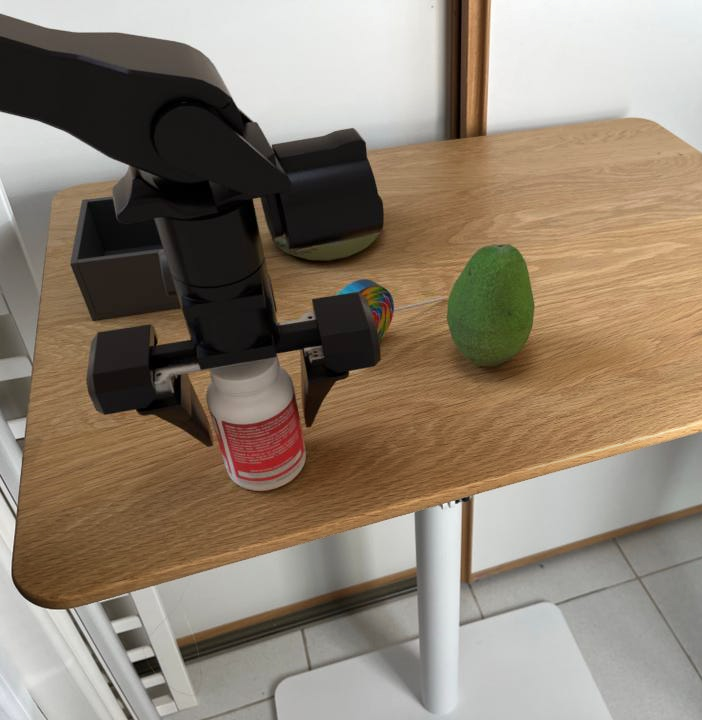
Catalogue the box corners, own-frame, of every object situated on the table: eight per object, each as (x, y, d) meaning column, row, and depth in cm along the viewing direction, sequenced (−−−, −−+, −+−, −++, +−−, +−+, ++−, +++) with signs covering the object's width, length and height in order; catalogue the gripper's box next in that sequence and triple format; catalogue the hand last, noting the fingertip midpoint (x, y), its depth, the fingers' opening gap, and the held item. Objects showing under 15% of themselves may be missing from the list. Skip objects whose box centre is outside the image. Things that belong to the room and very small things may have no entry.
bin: (92, 320, 72) (69, 263, 68) (101, 253, 81) (81, 199, 77) (222, 301, 75) (209, 245, 71) (218, 239, 84) (205, 185, 80)
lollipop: (441, 332, 78) (328, 364, 67) (432, 326, 78) (317, 356, 67) (456, 269, 74) (339, 292, 63) (446, 263, 75) (328, 285, 64)
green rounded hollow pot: (404, 248, 84) (401, 177, 78) (296, 282, 78) (284, 208, 72) (342, 188, 94) (335, 122, 88) (242, 215, 88) (228, 145, 82)
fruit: (547, 358, 70) (561, 249, 62) (487, 397, 66) (492, 285, 58) (489, 319, 74) (495, 213, 66) (429, 353, 70) (427, 244, 62)
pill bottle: (323, 459, 60) (306, 354, 53) (263, 507, 56) (236, 401, 49) (271, 424, 63) (248, 320, 55) (210, 467, 59) (178, 362, 52)
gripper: (345, 183, 55) (362, 346, 65) (69, 217, 50) (134, 385, 61) (374, 266, 47) (388, 436, 57) (49, 314, 42) (128, 489, 53)
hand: (260, 432), depth 57 cm, fingers closed on pill bottle, 7 cm apart
